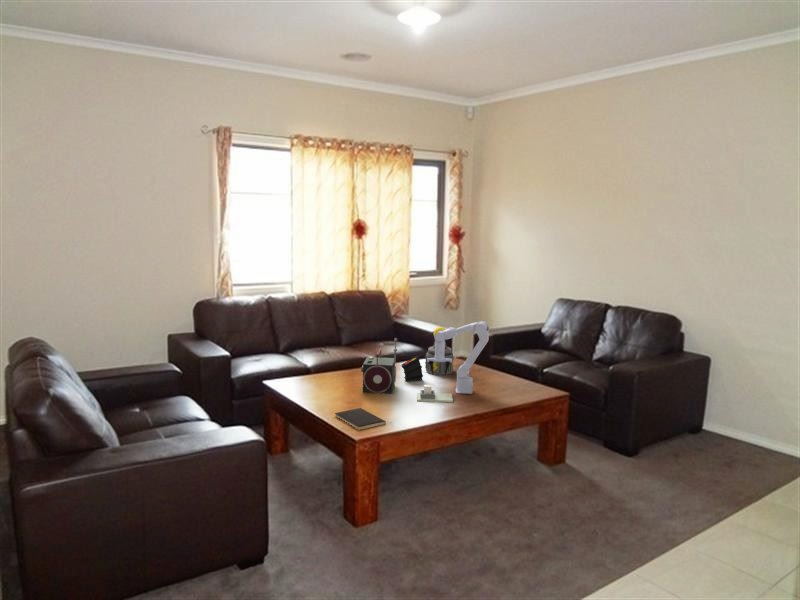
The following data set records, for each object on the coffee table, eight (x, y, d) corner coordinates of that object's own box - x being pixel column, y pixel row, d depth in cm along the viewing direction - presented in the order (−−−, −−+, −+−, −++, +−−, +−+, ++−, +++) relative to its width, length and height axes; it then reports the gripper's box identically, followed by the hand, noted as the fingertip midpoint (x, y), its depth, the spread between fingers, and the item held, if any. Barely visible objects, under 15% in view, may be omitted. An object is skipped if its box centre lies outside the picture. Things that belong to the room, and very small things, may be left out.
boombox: (364, 383, 362) (365, 335, 358) (398, 385, 361) (399, 337, 356) (360, 392, 344) (360, 342, 340) (395, 394, 343) (396, 343, 338)
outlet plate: (451, 395, 343) (451, 389, 342) (452, 402, 331) (453, 396, 330) (416, 394, 343) (417, 388, 343) (416, 401, 331) (417, 395, 331)
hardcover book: (358, 431, 286) (358, 426, 286) (334, 417, 305) (334, 413, 304) (385, 424, 296) (385, 420, 295) (361, 411, 314) (361, 407, 314)
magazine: (427, 377, 372) (418, 357, 368) (409, 388, 369) (400, 367, 365) (425, 376, 376) (416, 355, 371) (407, 386, 372) (398, 366, 368)
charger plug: (430, 394, 339) (431, 384, 338) (431, 397, 335) (431, 386, 334) (423, 394, 339) (424, 384, 338) (424, 397, 335) (424, 386, 334)
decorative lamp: (448, 376, 381) (450, 331, 377) (421, 373, 388) (422, 328, 383) (456, 369, 399) (458, 325, 394) (430, 366, 405) (431, 323, 401)
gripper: (451, 350, 355) (450, 372, 357) (427, 349, 355) (426, 371, 357) (452, 353, 348) (451, 375, 350) (427, 352, 348) (426, 374, 350)
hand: (439, 373), depth 353 cm, fingers open, 7 cm apart
